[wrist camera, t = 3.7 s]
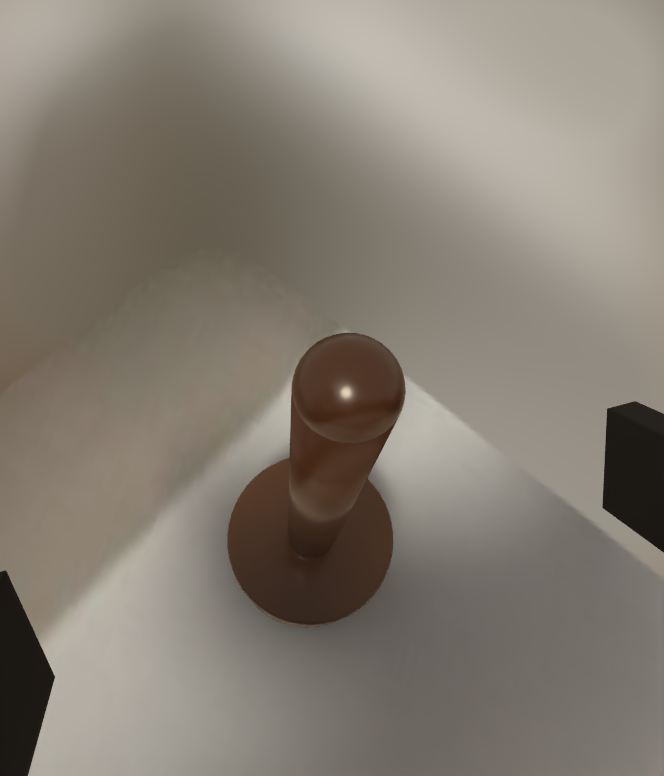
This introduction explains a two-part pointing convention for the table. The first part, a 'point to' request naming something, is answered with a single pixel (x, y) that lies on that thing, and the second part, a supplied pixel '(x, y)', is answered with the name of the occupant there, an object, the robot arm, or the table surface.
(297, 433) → the wooden peg stand
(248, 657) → the table surface
